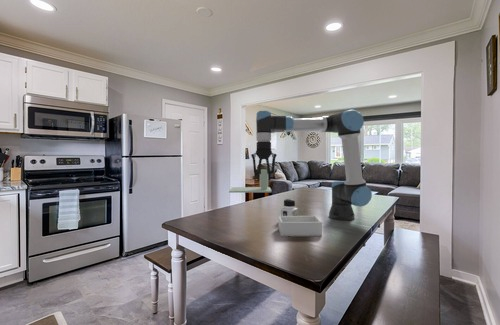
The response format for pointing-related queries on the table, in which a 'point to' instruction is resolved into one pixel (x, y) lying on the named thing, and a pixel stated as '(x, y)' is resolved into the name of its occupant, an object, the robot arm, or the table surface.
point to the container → (289, 208)
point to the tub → (300, 226)
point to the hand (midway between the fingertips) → (263, 186)
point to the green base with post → (254, 189)
